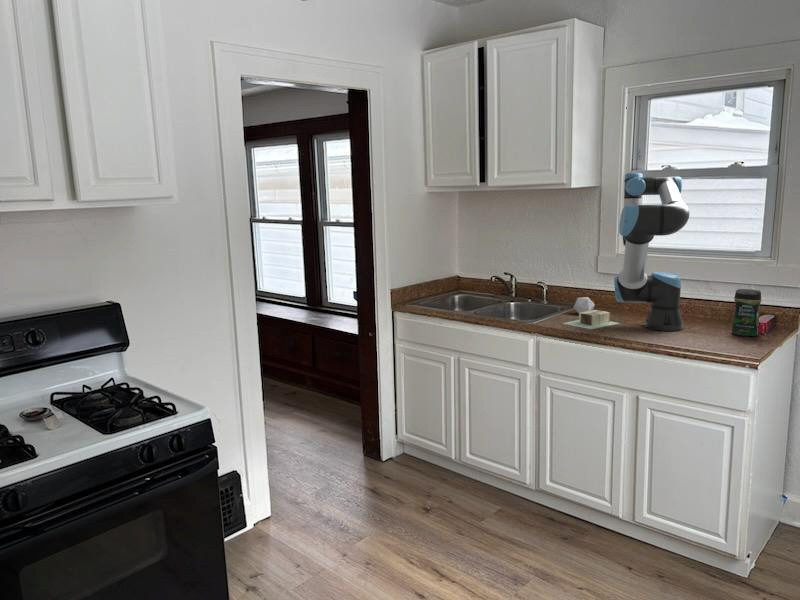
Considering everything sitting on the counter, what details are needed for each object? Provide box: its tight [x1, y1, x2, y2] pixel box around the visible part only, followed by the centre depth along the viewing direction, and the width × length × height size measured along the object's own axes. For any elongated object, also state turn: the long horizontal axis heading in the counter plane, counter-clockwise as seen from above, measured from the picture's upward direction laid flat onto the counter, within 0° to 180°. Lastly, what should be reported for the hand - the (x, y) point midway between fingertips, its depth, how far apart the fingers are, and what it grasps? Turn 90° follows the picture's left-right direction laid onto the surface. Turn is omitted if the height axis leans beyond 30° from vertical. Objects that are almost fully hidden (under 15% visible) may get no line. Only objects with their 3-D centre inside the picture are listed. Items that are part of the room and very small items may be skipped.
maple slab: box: [578, 309, 611, 326], centre depth 291 cm, size 8×4×11 cm
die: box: [573, 296, 596, 315], centre depth 310 cm, size 8×9×10 cm
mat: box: [562, 319, 620, 330], centre depth 290 cm, size 16×19×1 cm
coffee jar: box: [731, 288, 762, 337], centre depth 263 cm, size 10×8×19 cm
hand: (630, 260), depth 297 cm, fingers closed
